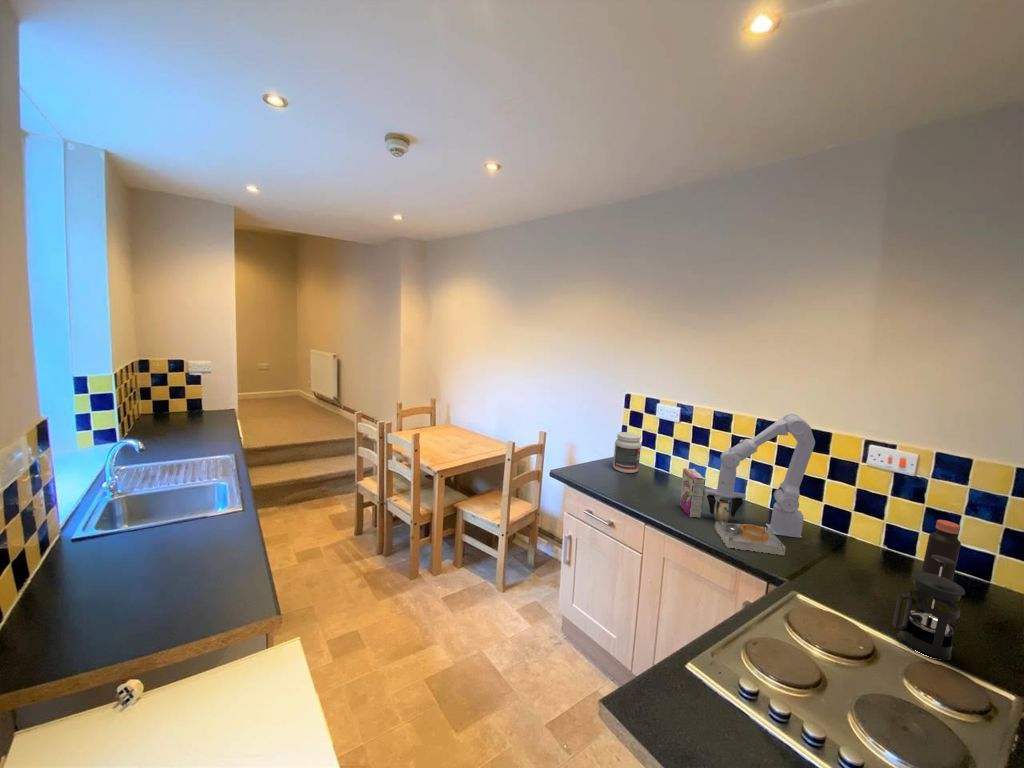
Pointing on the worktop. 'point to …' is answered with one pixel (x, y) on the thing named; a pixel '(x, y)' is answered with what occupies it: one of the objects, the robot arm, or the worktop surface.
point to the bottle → (942, 548)
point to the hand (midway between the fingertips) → (721, 514)
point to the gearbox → (749, 538)
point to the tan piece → (722, 510)
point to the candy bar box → (692, 492)
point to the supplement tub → (627, 452)
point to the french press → (925, 622)
